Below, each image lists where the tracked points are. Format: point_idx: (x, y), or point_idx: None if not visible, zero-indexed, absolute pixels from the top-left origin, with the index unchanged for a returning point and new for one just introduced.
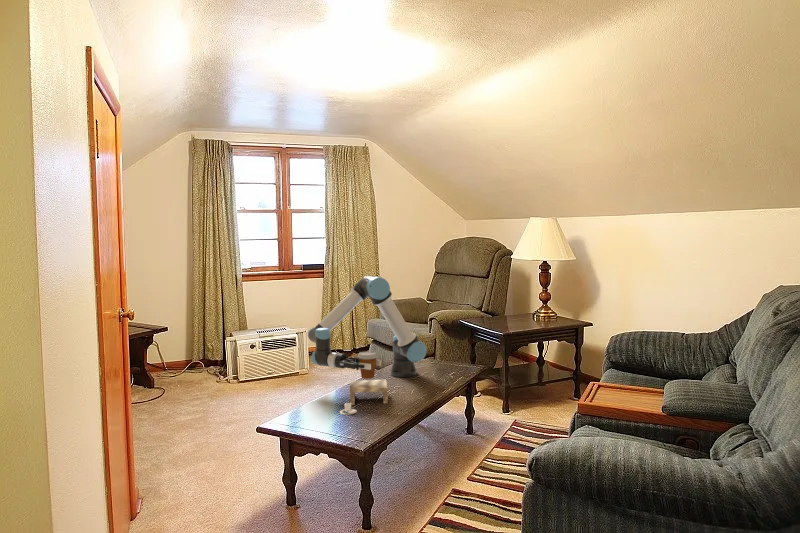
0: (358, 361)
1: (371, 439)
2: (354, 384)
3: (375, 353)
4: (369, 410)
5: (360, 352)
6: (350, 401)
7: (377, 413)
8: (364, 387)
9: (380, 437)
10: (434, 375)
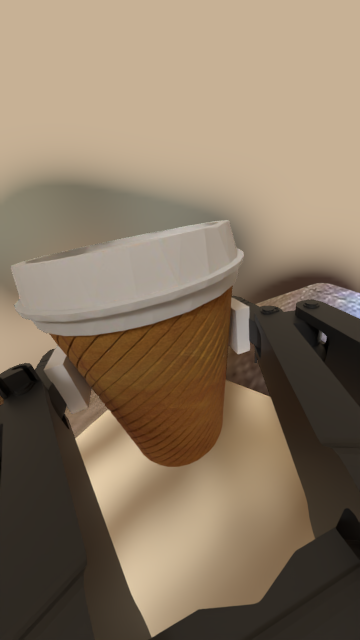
0: (103, 549)
1: (302, 292)
2: (272, 532)
3: (105, 242)
4: (258, 375)
5: (140, 242)
6: None
7: (247, 352)
8: (235, 408)
9: (286, 293)
10: None
